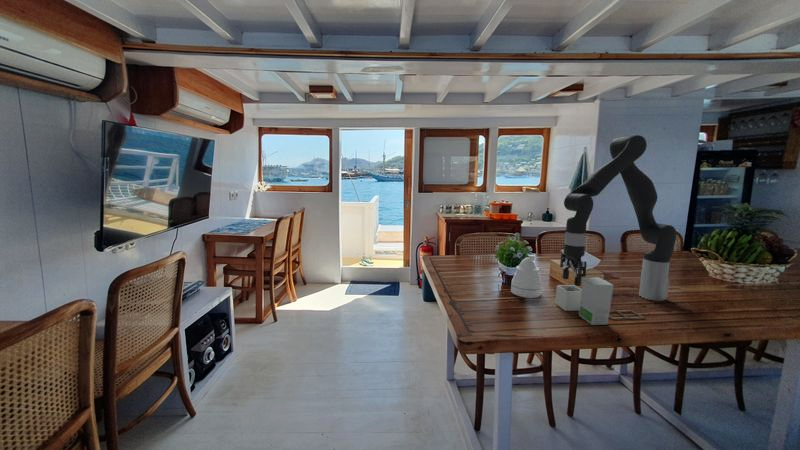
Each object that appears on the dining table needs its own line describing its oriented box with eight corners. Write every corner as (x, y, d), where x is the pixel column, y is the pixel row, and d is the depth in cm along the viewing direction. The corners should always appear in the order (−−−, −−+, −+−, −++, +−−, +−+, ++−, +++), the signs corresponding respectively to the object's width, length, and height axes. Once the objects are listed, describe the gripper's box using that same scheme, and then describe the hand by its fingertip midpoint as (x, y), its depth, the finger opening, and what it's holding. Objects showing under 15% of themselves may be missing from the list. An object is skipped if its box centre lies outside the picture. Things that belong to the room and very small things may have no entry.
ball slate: (572, 287, 135) (570, 283, 132) (578, 296, 132) (577, 292, 129) (562, 292, 136) (560, 288, 133) (568, 301, 133) (566, 298, 130)
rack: (631, 311, 130) (631, 310, 130) (645, 319, 123) (645, 317, 123) (599, 312, 129) (600, 310, 129) (612, 319, 122) (612, 318, 122)
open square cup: (572, 303, 138) (574, 285, 137) (583, 310, 131) (585, 291, 130) (555, 303, 138) (556, 285, 137) (565, 310, 130) (566, 291, 129)
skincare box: (578, 315, 126) (581, 277, 124) (594, 315, 126) (598, 276, 124) (592, 325, 118) (596, 284, 115) (609, 325, 118) (614, 284, 116)
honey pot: (544, 292, 151) (547, 254, 148) (534, 300, 142) (537, 260, 139) (517, 285, 160) (520, 250, 157) (506, 292, 150) (508, 254, 148)
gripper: (595, 247, 123) (591, 288, 126) (573, 239, 137) (570, 276, 140) (575, 247, 123) (572, 288, 126) (556, 240, 137) (553, 276, 140)
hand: (571, 282), depth 133 cm, fingers open, 8 cm apart
